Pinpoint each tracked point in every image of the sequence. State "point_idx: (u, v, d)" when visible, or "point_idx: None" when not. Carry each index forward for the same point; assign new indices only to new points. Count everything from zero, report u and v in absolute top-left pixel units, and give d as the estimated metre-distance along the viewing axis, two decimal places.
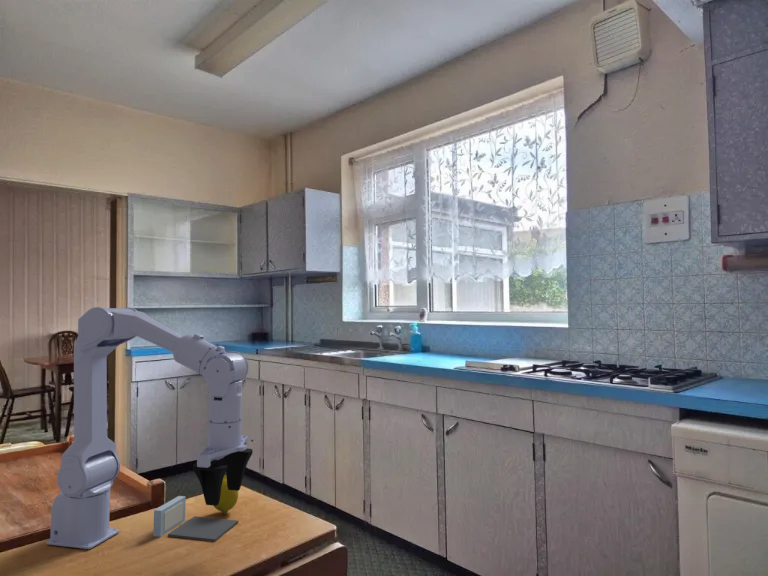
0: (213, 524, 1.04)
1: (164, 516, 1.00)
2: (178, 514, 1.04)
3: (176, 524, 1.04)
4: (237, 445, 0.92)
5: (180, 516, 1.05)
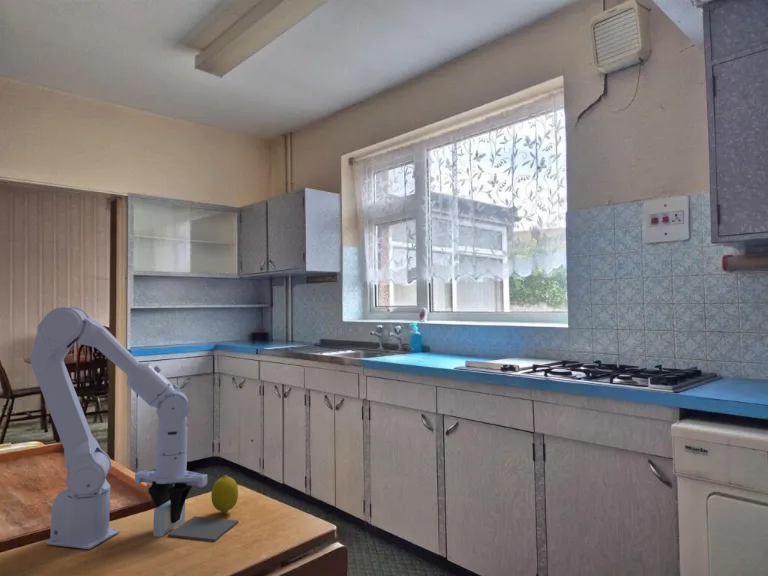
0: (213, 524, 1.04)
1: (164, 516, 1.00)
2: None
3: (176, 523, 1.04)
4: (160, 477, 1.01)
5: None
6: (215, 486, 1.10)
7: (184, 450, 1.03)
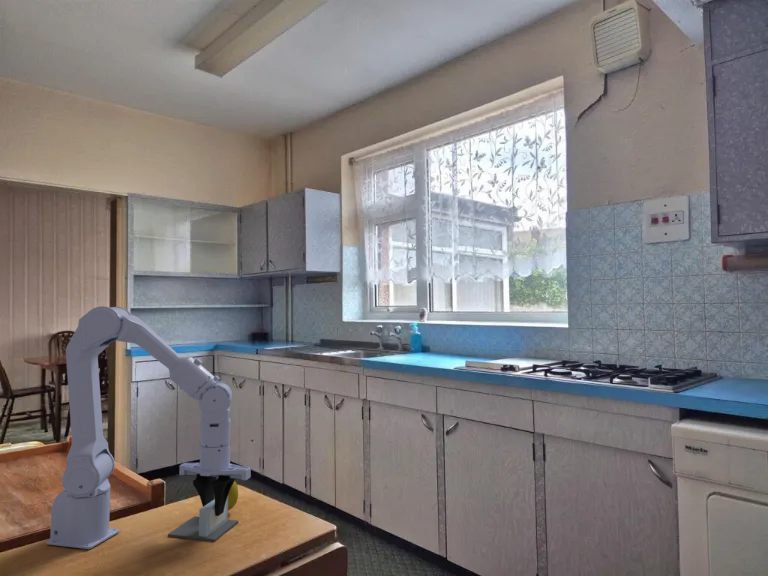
0: None
1: (210, 515, 0.99)
2: None
3: (220, 523, 1.03)
4: (204, 469, 1.00)
5: (223, 515, 1.05)
6: None
7: (226, 443, 1.02)
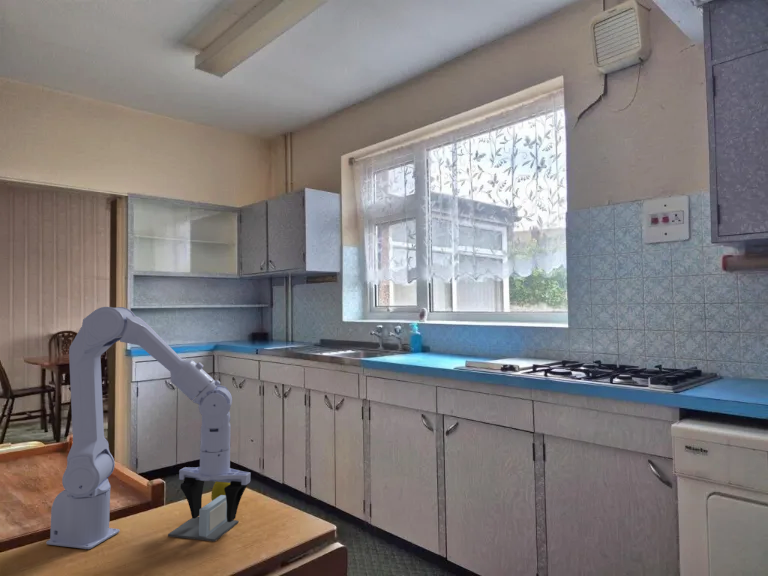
0: None
1: (210, 515, 0.99)
2: (221, 513, 1.04)
3: (220, 523, 1.03)
4: (204, 474, 1.00)
5: (223, 515, 1.05)
6: (215, 486, 1.10)
7: (226, 448, 1.02)
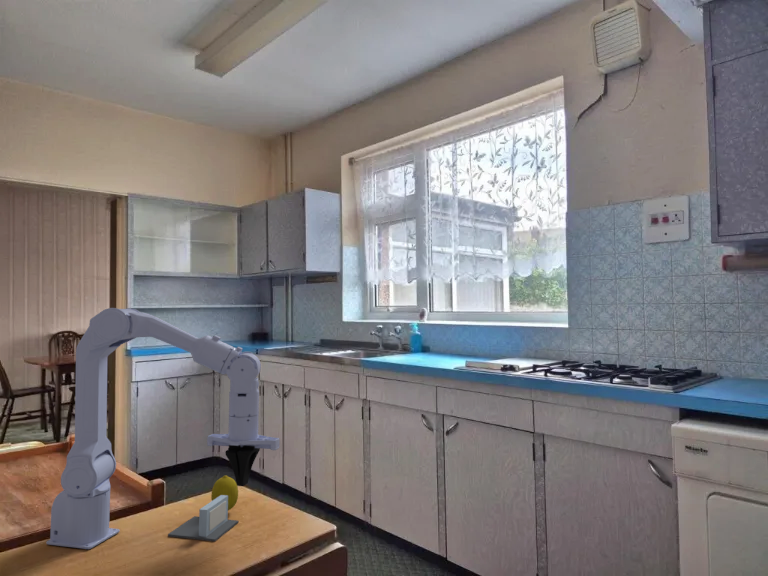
0: None
1: (210, 515, 0.99)
2: (221, 513, 1.04)
3: (220, 523, 1.03)
4: (233, 439, 0.99)
5: (223, 515, 1.05)
6: (215, 486, 1.10)
7: (254, 413, 1.01)
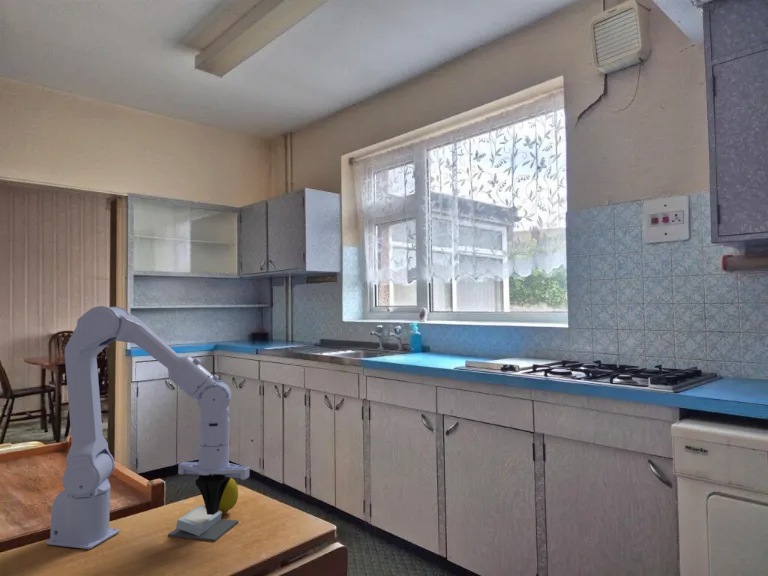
0: None
1: (187, 519, 1.00)
2: (205, 512, 1.04)
3: (212, 516, 1.04)
4: (203, 468, 1.00)
5: None
6: None
7: (225, 442, 1.02)
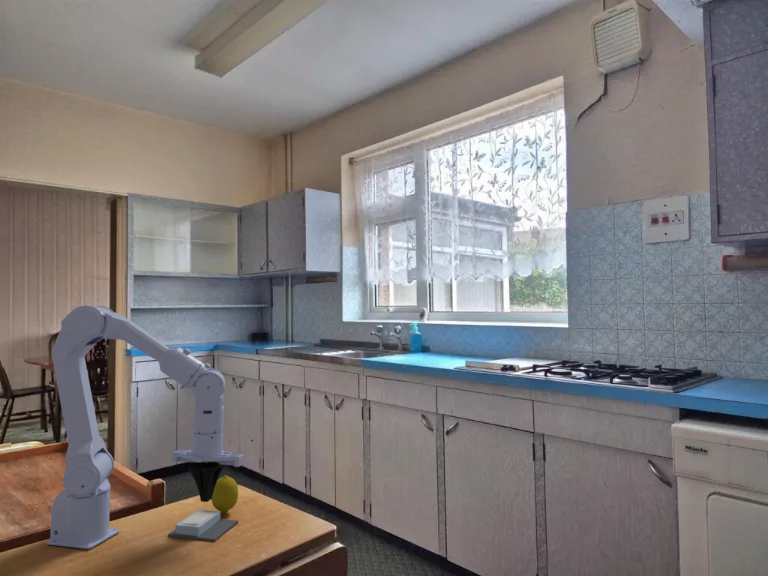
0: None
1: (185, 523, 1.01)
2: (203, 515, 1.05)
3: (210, 517, 1.04)
4: (197, 455, 1.01)
5: (208, 514, 1.05)
6: (215, 486, 1.10)
7: (220, 430, 1.03)
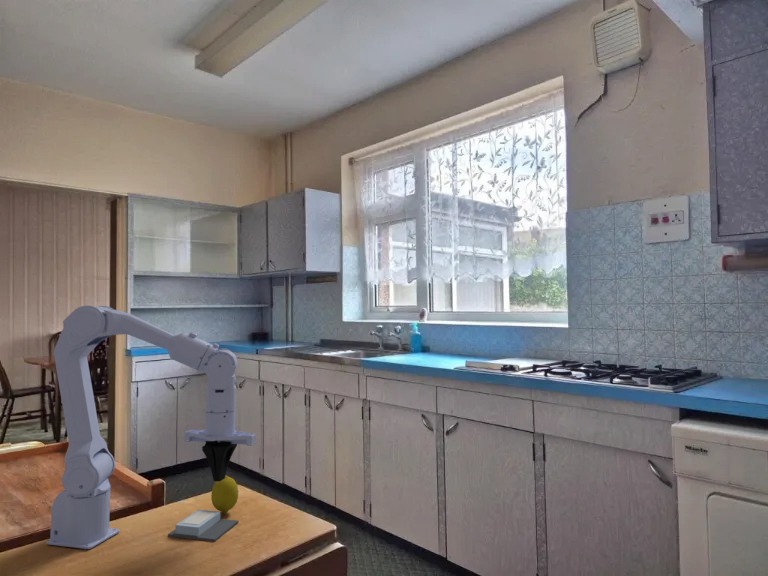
0: None
1: (185, 523, 1.01)
2: (203, 515, 1.05)
3: (210, 517, 1.04)
4: (210, 434, 1.00)
5: (208, 514, 1.05)
6: (215, 486, 1.10)
7: (232, 409, 1.02)
